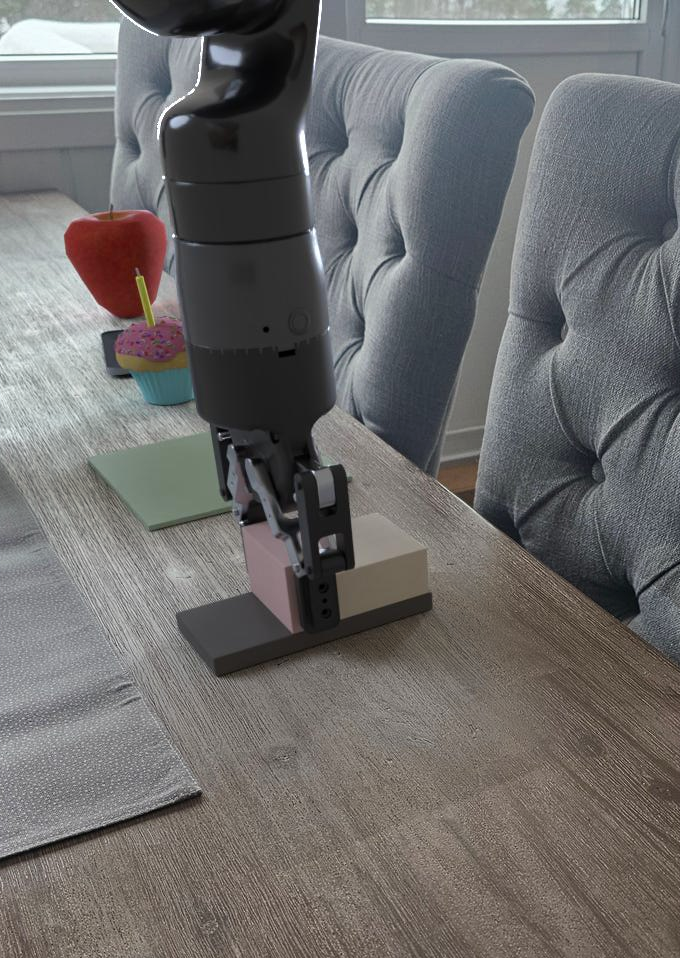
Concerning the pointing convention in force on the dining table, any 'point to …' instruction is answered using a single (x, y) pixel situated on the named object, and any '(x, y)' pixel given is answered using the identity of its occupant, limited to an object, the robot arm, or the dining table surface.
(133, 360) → the cupcake
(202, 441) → the mat
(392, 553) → the blocks on dark base
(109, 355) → the smartphone
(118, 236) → the apple
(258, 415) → the robot arm
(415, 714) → the dining table surface
